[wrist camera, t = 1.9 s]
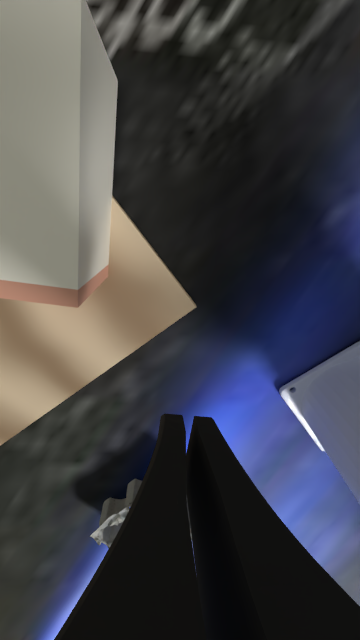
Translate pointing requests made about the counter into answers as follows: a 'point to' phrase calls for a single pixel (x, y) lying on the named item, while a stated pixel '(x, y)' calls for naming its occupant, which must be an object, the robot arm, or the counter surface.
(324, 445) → the robot arm
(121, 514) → the egg carton
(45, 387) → the wooden board
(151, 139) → the counter surface
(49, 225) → the cream block
